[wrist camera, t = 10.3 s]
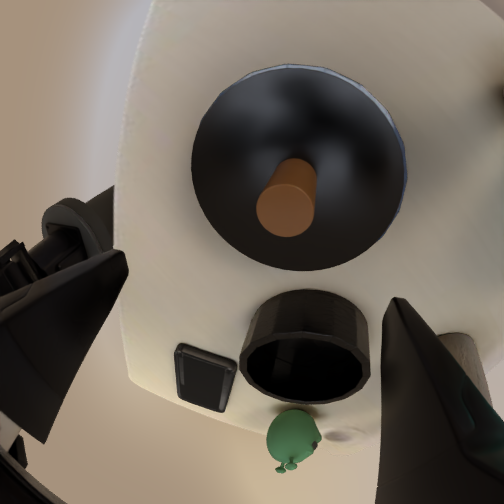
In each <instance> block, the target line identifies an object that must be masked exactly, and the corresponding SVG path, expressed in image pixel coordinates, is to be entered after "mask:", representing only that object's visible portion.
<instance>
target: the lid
mask: <svg viewBox="0 0 504 504" xmlns="http://www.w3.org/2000/svg"><path fill="white" fill-rule="evenodd" d="M191 172H192V181H193V185H194V190H195V194H196V196H197V199H198V202H199V204H200V207H201V208H202V210H203V212H204V214H205V216H206V218H207V219H208V221H209V222H210V224H211V225H212V227H213V228H214V229H215V230H216V231H217V232H218V234H219V235H220V236H221V237H222V238H223V239H224V240H225V241H227V242H228V243H229V244H230V245H231V246H232V247H234V248H235V249H236V250H238V251H239V252H241V253H242V254H244V255H246V256H248V257H249V258H251V259H253V260H256V261H258V262H260V263H262V264H265V265H268V266H271V267H275V268H280V269H284V270H293V271H314V270H322V269H326V268H331V267H335V266H337V265H340V264H343V263H346V262H348V261H350V260H352V259H354V258H356V257H357V256H359V255H360V254H362V253H363V252H365V251H366V250H368V249H369V248H370V247H371V246H372V245H373V244H375V243H376V242H377V241H378V239H379V238H380V237H381V236H382V235H383V234H384V233H385V231H386V230H387V228H388V227H389V225H390V224H391V222H392V220H393V218H394V216H395V214H396V212H397V210H398V207H399V204H400V201H401V197H402V192H403V186H404V164H403V156H402V152H401V148H400V144H399V141H398V139H397V136H396V134H395V132H394V129H393V127H392V126H391V124H390V122H389V121H388V119H387V117H386V116H385V114H384V113H383V112H382V111H381V110H380V108H379V107H378V106H377V105H376V104H375V102H373V101H372V100H371V99H370V98H369V97H368V96H367V95H366V94H365V93H364V92H362V91H361V90H359V89H358V88H356V87H355V86H353V85H352V84H350V83H349V82H347V81H345V80H343V79H341V78H338V77H336V76H334V75H331V74H328V73H325V72H321V71H317V70H311V69H305V68H283V69H274V70H269V71H266V72H262V73H258V74H256V75H253V76H251V77H249V78H246V79H244V80H242V81H241V82H239V83H237V84H236V85H234V86H233V87H231V88H230V89H229V90H227V91H226V92H225V93H224V94H223V95H221V96H220V97H219V98H218V99H217V101H216V102H215V103H214V104H213V105H212V106H211V107H210V109H209V110H208V112H207V113H206V115H205V117H204V118H203V120H202V122H201V124H200V126H199V128H198V131H197V134H196V137H195V140H194V144H193V150H192V158H191Z"/></svg>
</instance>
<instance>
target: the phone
mask: <svg viewBox="0 0 504 504" xmlns="http://www.w3.org/2000/svg"><path fill="white" fill-rule="evenodd" d="M174 361H175V373H176V384H177V394H178V397H179V398H180V399H182V400H184V401H187V402H190V403H192V404H195V405H198V406H201V407H204V408H207V409H210V410H213V411H216V412H219V413H223V412H225V409H226V406H227V402H228V399H229V395H230V392H231V388H232V385H233V381H234V377H235V374H236V370H237V364H236V363H235V362H233V361H231V360H229V359H226V358H223V357H220V356H216V355H213V354H210V353H208V352H205V351H202V350H199V349H196V348H193V347H190V346H188V345H185V344H179V345H178V346H177V348H176V350H175V352H174Z"/></svg>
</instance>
